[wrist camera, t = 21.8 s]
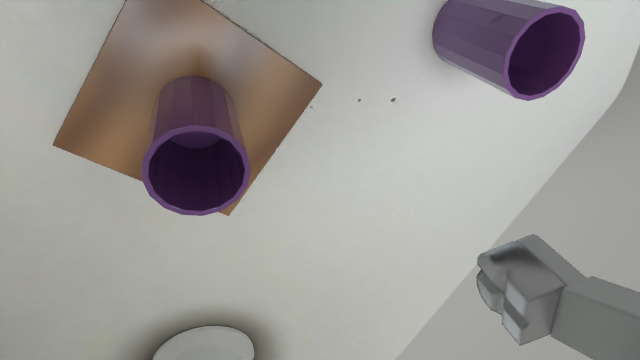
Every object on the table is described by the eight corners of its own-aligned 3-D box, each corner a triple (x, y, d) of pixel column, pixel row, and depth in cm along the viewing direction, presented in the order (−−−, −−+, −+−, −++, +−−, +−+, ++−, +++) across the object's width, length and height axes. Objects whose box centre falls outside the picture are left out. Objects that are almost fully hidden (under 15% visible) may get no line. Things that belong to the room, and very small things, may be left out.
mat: (53, 143, 32) (52, 145, 31) (145, -39, 27) (145, -38, 27) (228, 213, 40) (228, 216, 40) (321, 83, 35) (322, 84, 35)
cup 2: (418, 37, 36) (487, 69, 28) (469, -29, 34) (558, -15, 26) (460, 76, 39) (532, 115, 31) (509, 18, 37) (598, 43, 29)
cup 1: (138, 126, 32) (122, 192, 24) (177, 59, 31) (174, 106, 22) (210, 160, 36) (217, 228, 28) (249, 101, 34) (269, 155, 26)
